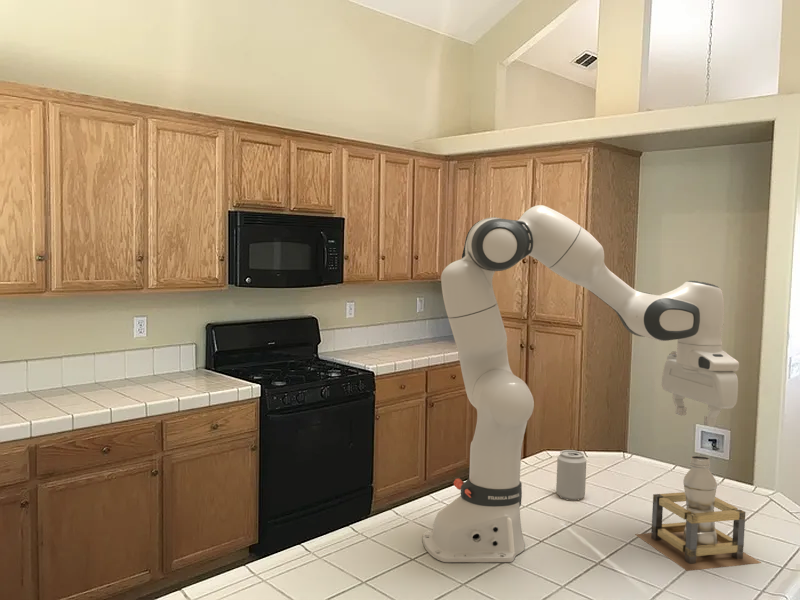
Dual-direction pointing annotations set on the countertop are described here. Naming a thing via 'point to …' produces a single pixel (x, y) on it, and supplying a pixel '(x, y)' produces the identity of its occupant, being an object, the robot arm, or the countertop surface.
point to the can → (571, 475)
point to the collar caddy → (693, 519)
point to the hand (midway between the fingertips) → (694, 419)
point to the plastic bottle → (701, 497)
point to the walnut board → (701, 561)
